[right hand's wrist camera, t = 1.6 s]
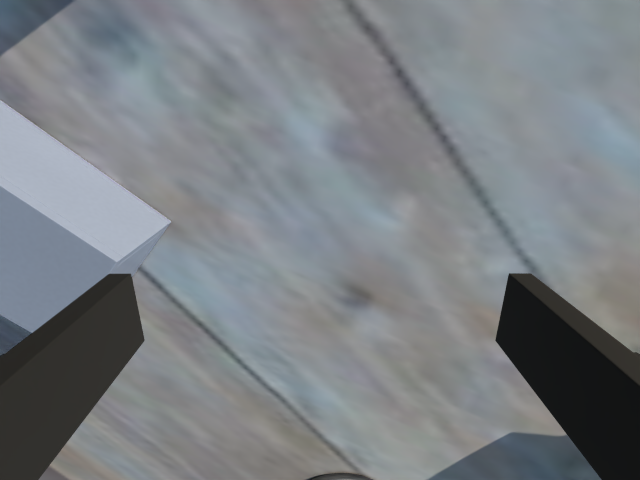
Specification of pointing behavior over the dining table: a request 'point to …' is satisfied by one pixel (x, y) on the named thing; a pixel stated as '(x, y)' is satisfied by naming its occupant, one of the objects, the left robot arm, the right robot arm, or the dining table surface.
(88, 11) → the dining table surface
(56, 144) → the cabinet
